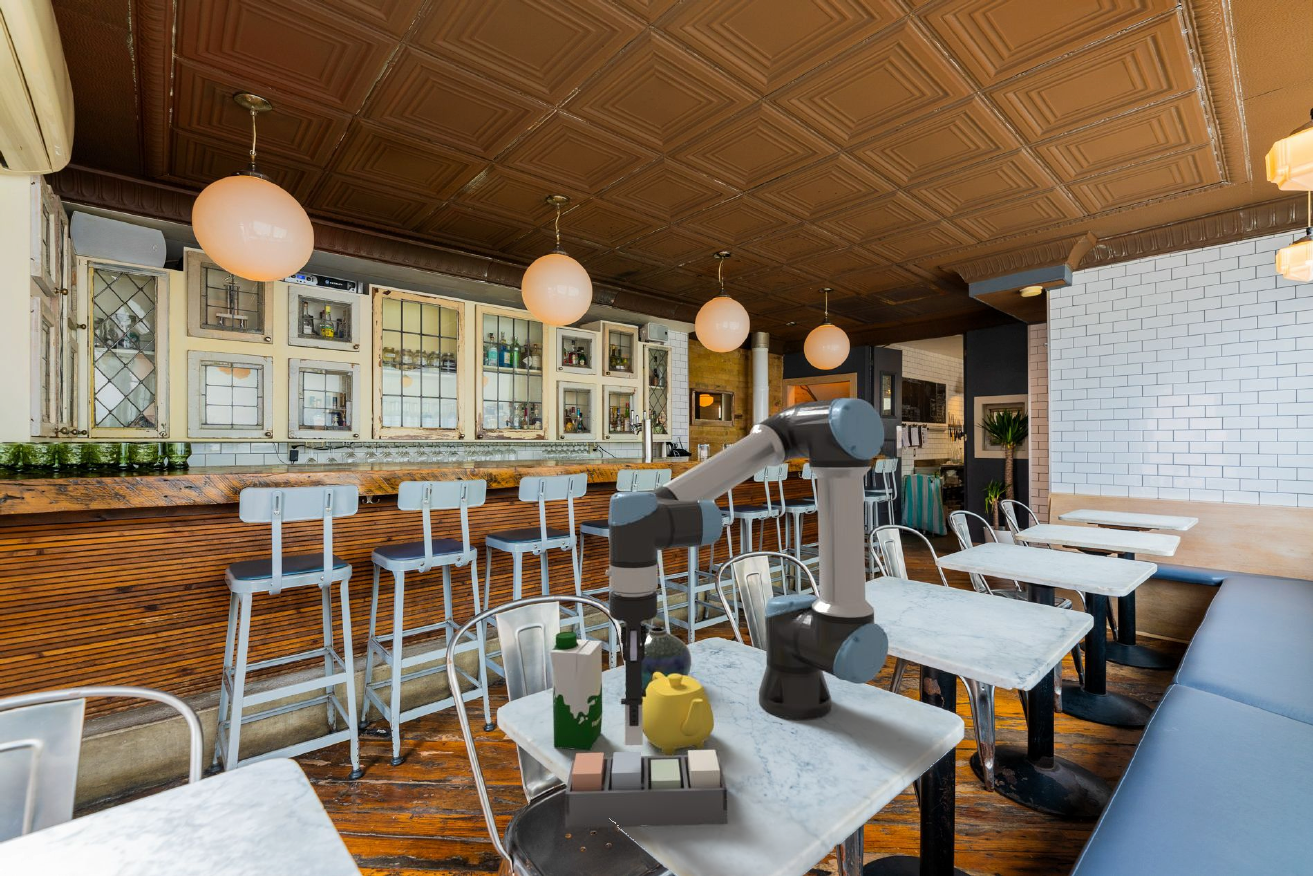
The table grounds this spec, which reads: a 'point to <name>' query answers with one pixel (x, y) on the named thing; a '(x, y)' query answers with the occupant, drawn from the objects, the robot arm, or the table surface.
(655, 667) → the vase
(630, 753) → the key
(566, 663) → the milk carton
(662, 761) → the key
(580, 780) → the key
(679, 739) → the teapot
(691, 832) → the table surface
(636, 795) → the keypad base
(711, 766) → the key
